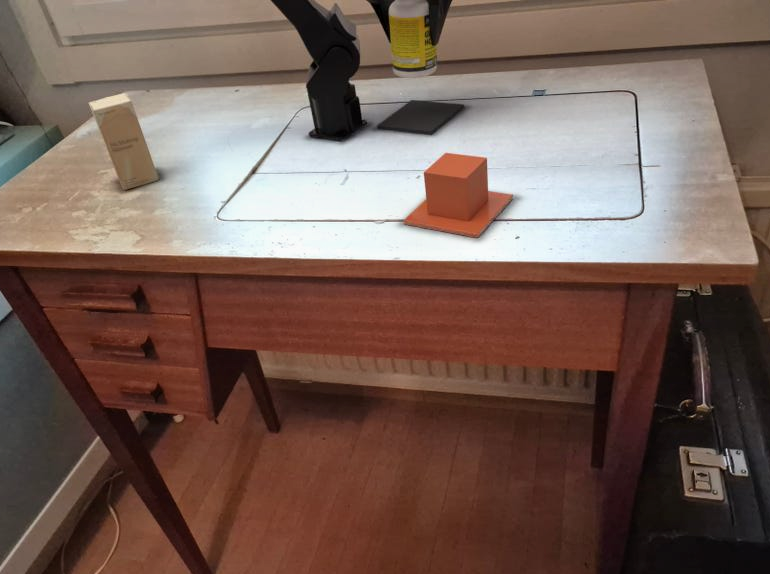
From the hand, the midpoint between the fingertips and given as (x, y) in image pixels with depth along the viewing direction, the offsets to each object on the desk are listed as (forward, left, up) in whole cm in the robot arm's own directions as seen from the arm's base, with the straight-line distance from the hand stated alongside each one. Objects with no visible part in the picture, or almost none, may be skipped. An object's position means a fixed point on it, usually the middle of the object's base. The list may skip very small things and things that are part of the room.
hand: (413, 44), depth 89 cm
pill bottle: (0, 0, -4) cm, 4 cm away
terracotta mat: (+18, -23, -10) cm, 31 cm away
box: (-29, -29, -10) cm, 42 cm away
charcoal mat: (0, 0, -10) cm, 10 cm away
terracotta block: (+18, -23, -10) cm, 31 cm away
